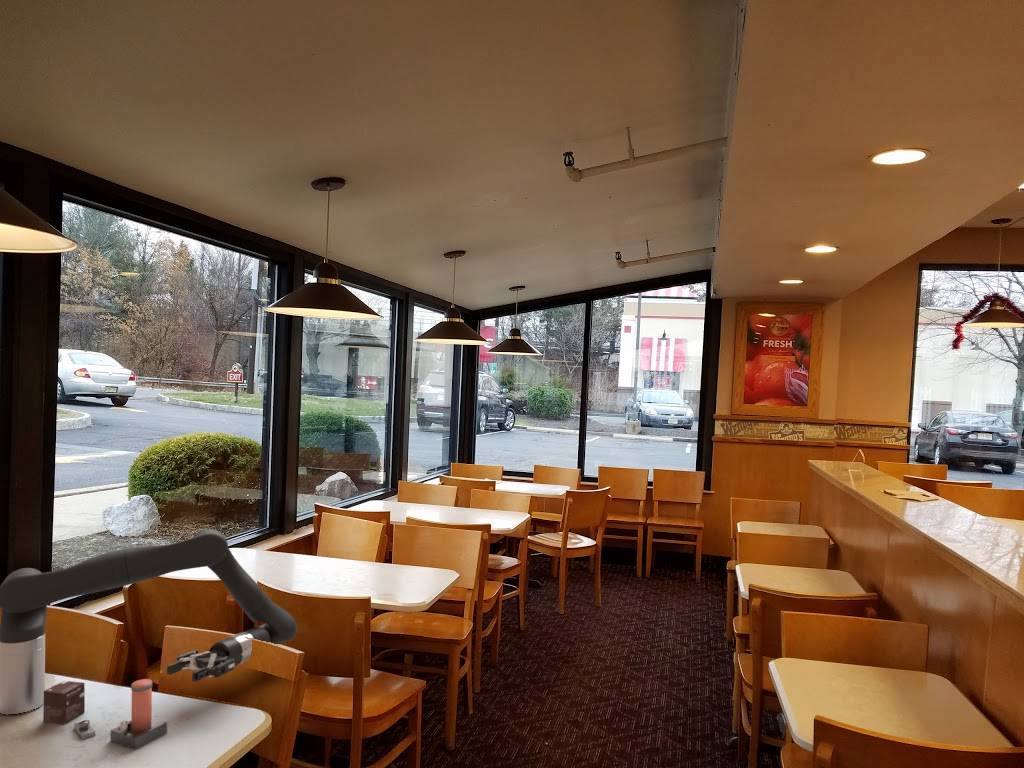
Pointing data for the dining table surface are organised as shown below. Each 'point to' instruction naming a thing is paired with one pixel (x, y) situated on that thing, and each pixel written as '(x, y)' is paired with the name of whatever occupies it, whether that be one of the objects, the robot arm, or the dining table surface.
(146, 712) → the post
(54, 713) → the box
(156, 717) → the dining table surface
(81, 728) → the plate
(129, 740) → the bracket
